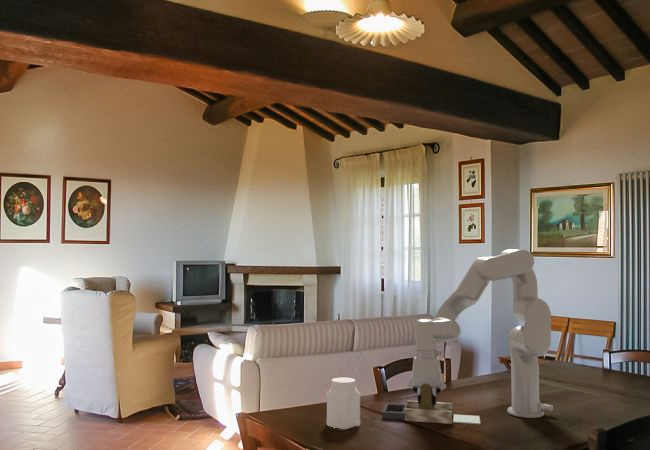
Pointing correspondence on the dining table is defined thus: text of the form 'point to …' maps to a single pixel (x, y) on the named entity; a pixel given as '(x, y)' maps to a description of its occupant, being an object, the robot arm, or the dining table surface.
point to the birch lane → (429, 413)
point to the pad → (466, 419)
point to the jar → (343, 404)
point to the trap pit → (394, 411)
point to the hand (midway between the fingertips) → (426, 405)
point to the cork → (426, 397)
